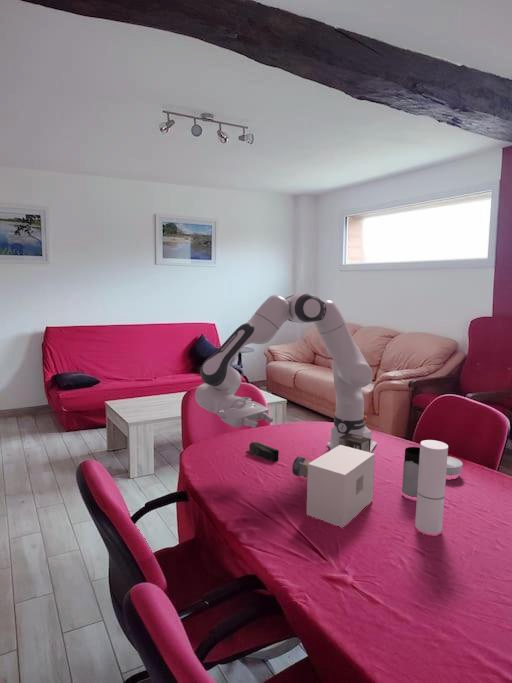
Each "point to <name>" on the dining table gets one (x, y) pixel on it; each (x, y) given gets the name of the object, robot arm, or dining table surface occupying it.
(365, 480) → the box
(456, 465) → the ramekin
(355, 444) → the coffee box
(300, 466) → the plunger
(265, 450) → the mobile phone
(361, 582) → the dining table surface
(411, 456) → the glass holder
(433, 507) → the cylindrical container
